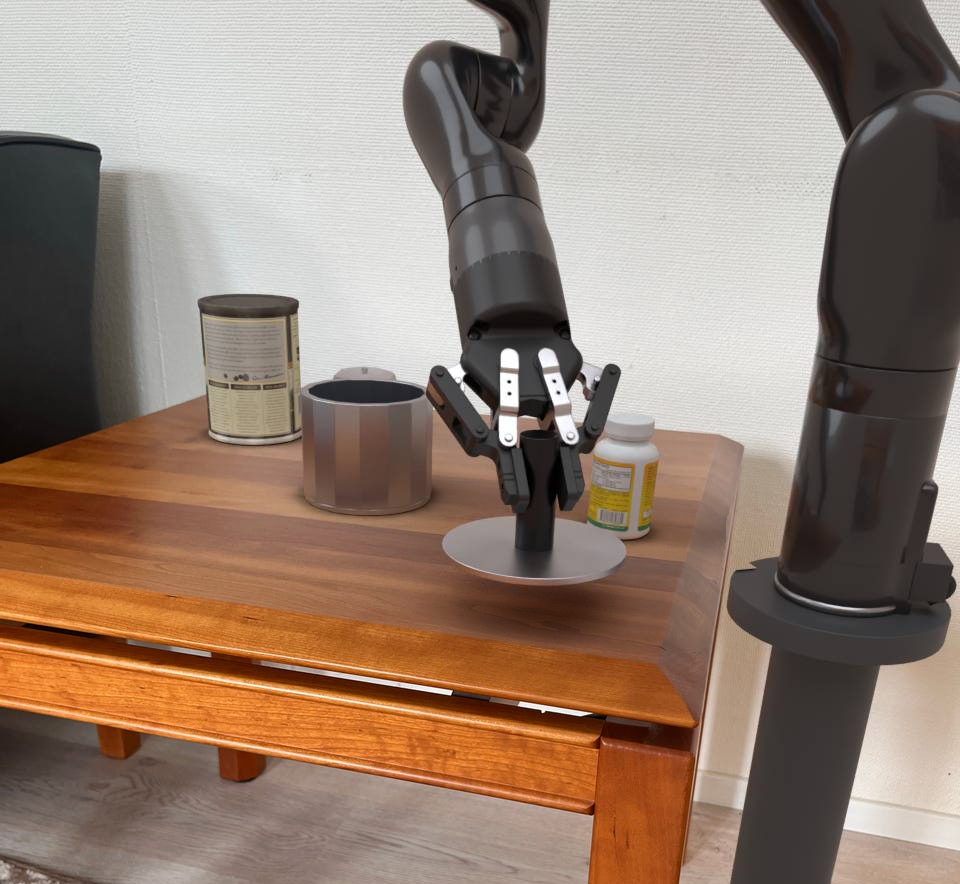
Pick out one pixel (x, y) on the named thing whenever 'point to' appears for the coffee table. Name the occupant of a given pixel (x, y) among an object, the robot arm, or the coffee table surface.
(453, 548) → the canister lid
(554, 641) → the coffee table surface
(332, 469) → the canister
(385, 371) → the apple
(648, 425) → the supplement bottle
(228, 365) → the coffee can
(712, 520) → the coffee table surface
